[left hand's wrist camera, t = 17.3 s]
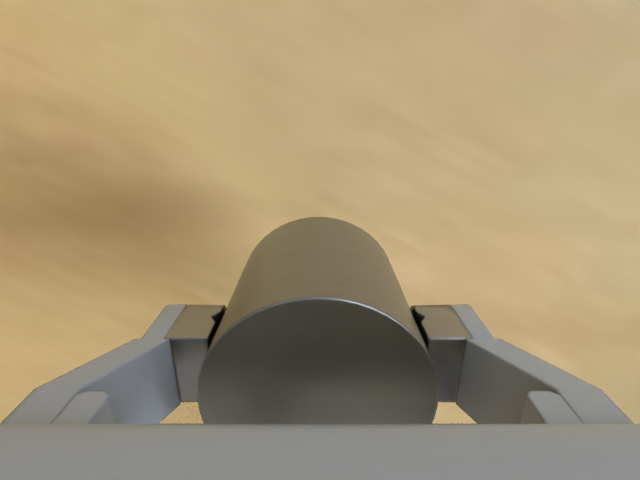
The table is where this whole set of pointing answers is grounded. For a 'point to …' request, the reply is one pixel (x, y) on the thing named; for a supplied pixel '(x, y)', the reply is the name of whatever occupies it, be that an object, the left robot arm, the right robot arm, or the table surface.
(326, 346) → the can
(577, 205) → the table surface
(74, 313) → the table surface
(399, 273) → the table surface
